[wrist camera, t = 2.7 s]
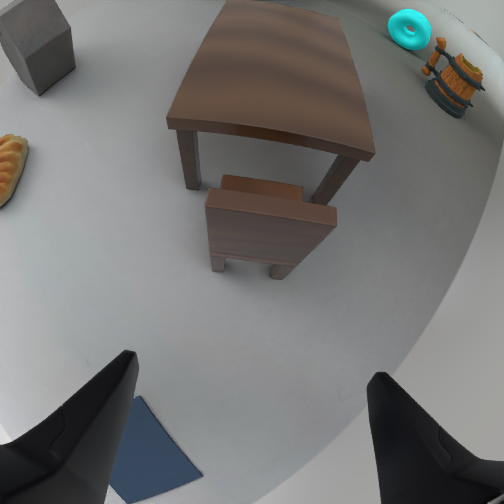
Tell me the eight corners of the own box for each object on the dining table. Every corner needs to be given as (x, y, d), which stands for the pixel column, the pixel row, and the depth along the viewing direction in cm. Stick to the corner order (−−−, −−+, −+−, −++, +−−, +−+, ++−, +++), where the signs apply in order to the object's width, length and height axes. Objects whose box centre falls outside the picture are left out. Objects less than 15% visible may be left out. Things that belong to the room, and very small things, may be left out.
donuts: (422, 49, 45) (438, 23, 35) (418, 59, 42) (436, 30, 32) (388, 28, 46) (402, 1, 36) (380, 35, 43) (395, 4, 33)
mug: (465, 109, 39) (493, 76, 28) (460, 127, 36) (494, 89, 25) (418, 68, 40) (442, 31, 29) (406, 79, 37) (434, 36, 26)
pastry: (22, 200, 23) (4, 184, 19) (-13, 217, 22) (-30, 204, 18) (32, 140, 25) (19, 123, 22) (-2, 159, 24) (-15, 144, 21)
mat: (202, 475, 18) (202, 476, 18) (128, 503, 15) (127, 504, 15) (140, 395, 19) (139, 395, 19) (70, 430, 17) (69, 431, 17)
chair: (282, 280, 24) (337, 226, 12) (211, 271, 23) (204, 206, 12) (286, 216, 26) (332, 130, 14) (221, 206, 25) (225, 111, 14)
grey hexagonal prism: (87, 53, 25) (36, -34, 10) (41, 87, 23) (-11, -5, 7) (68, 77, 35) (27, 9, 20) (36, 103, 33) (-7, 33, 18)
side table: (327, 213, 26) (375, 153, 17) (181, 192, 25) (165, 117, 16) (319, 71, 34) (338, 18, 24) (223, 55, 33) (228, -2, 23)
